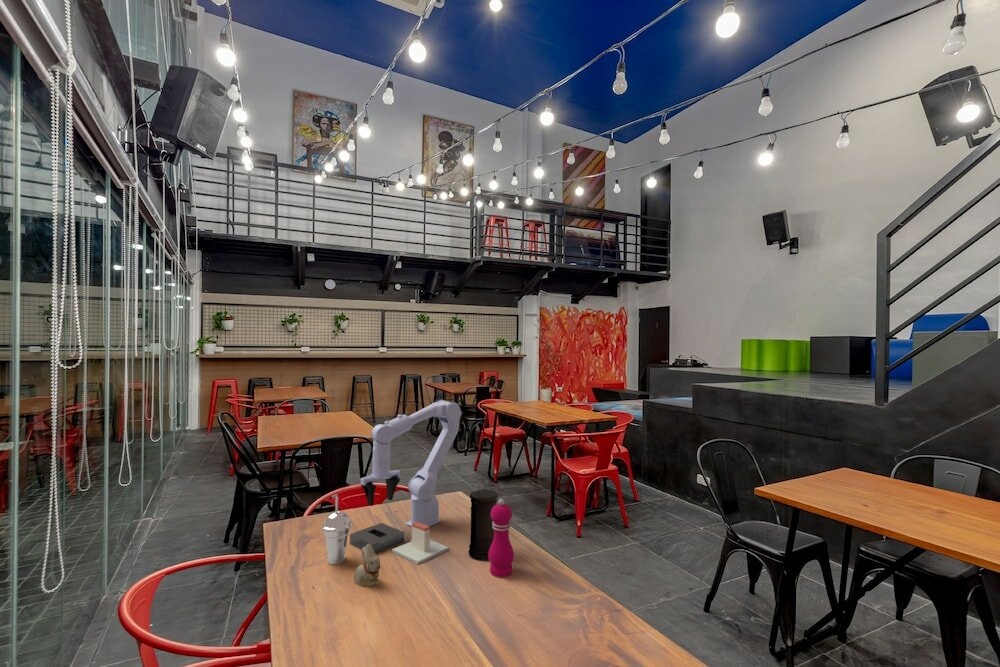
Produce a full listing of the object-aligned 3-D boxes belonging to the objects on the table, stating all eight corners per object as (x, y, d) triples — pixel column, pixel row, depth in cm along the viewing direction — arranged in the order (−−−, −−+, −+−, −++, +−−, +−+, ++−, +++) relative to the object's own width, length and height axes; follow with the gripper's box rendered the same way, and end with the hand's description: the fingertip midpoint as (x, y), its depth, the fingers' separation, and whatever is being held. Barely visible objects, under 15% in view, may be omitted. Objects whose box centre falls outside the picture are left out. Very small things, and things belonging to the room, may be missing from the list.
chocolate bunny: (360, 591, 115) (360, 551, 115) (351, 578, 121) (352, 540, 121) (381, 585, 118) (382, 546, 118) (372, 572, 124) (372, 536, 124)
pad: (422, 539, 146) (422, 536, 146) (448, 549, 138) (448, 547, 138) (392, 552, 137) (392, 549, 137) (417, 564, 129) (418, 561, 129)
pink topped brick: (416, 544, 140) (416, 521, 140) (429, 550, 136) (429, 526, 137) (411, 546, 139) (411, 523, 139) (424, 552, 135) (424, 528, 135)
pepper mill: (511, 579, 121) (511, 504, 121) (485, 576, 122) (485, 502, 123) (516, 566, 128) (516, 495, 128) (491, 564, 129) (491, 493, 130)
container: (499, 548, 140) (500, 489, 140) (496, 561, 131) (497, 499, 131) (471, 546, 141) (471, 488, 141) (466, 560, 132) (466, 497, 132)
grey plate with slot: (381, 531, 152) (381, 522, 152) (404, 541, 144) (404, 532, 144) (349, 543, 142) (349, 534, 142) (372, 554, 135) (372, 544, 135)
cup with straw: (357, 557, 133) (358, 488, 134) (334, 570, 125) (336, 497, 126) (336, 551, 137) (337, 485, 137) (312, 564, 129) (313, 493, 129)
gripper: (369, 467, 143) (368, 510, 142) (406, 459, 154) (405, 499, 153) (357, 463, 147) (355, 505, 147) (393, 456, 158) (392, 495, 158)
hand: (380, 502), depth 150 cm, fingers open, 7 cm apart
